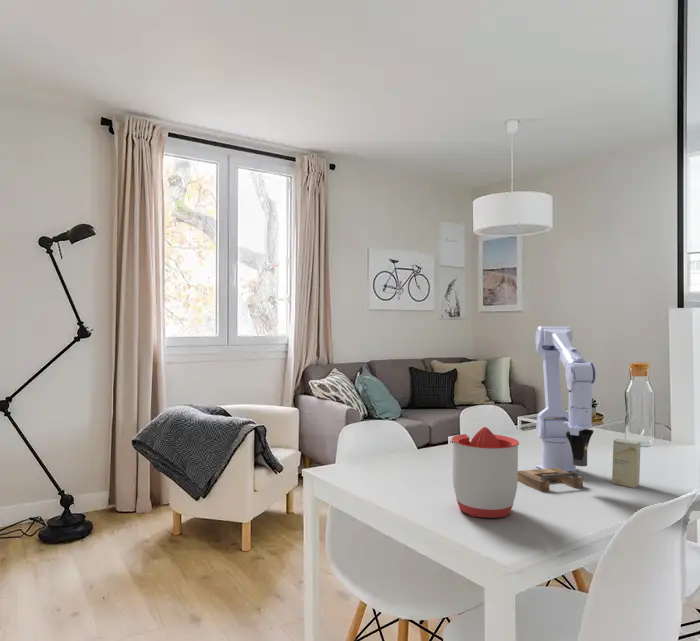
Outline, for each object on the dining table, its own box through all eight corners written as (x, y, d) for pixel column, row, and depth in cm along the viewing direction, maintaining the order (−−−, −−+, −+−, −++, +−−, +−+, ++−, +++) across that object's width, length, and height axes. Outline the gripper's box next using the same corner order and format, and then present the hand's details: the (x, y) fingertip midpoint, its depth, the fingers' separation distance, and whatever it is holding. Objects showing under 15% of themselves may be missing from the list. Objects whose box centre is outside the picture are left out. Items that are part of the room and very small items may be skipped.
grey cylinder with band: (581, 462, 150) (581, 440, 150) (590, 465, 146) (590, 443, 146) (569, 463, 149) (569, 441, 149) (578, 466, 145) (578, 444, 145)
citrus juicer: (504, 498, 141) (504, 420, 141) (528, 522, 123) (529, 433, 124) (443, 498, 140) (444, 419, 140) (459, 522, 123) (460, 433, 123)
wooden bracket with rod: (556, 476, 162) (556, 462, 162) (582, 486, 151) (582, 472, 151) (515, 479, 157) (515, 466, 157) (539, 491, 147) (540, 476, 147)
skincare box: (611, 483, 154) (612, 440, 155) (616, 480, 158) (616, 438, 158) (636, 488, 150) (636, 443, 150) (640, 485, 154) (640, 441, 154)
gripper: (570, 402, 156) (569, 450, 156) (558, 409, 144) (557, 461, 144) (597, 404, 152) (596, 454, 152) (587, 411, 140) (586, 465, 140)
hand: (579, 457), depth 148 cm, fingers closed on grey cylinder with band, 4 cm apart
